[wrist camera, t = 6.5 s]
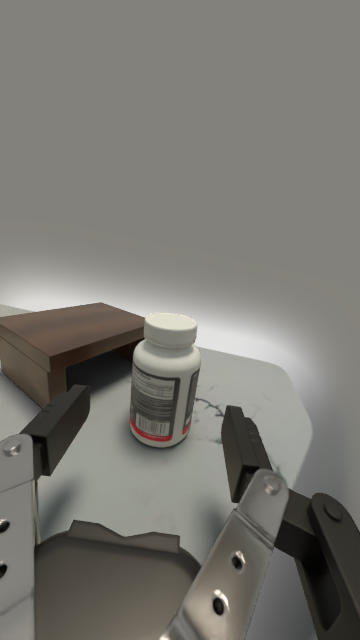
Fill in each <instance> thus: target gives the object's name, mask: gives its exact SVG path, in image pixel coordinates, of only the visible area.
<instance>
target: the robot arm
mask: <svg viewBox="0 0 360 640" xmlns="http://www.w3.org/2000/svg"><path fill="white" fill-rule="evenodd" d="M89 410H90V388H89V386H84V385H77V384H75V385H73V387H72V388H71V389H70V390H69V391H68V392H67V393H66V392H62V393H61V394H59V395H57V396H56V397H54V398H53V399H52V400H51V401H50V402H49V403H48V404H47V406H45V407H44V408H43V409H42V411H41V412H39V414H38V415H37V416H36V417H35V418H34V419H33V420H32V421H31V422H30V423H29V424H28V425H27V426H26V427H25V428H24V429H23V430H22V431H21V432H20V433H19V434H16V435H13V436H10V437H8V438H6V439H4V440H2V441H1V442H0V640H245V637H246V634H247V631H248V628H249V625H250V622H251V619H252V615H253V612H254V609H255V606H256V603H257V600H258V597H259V593H260V590H261V587H262V584H263V581H264V578H265V575H266V571H267V568H268V565H269V562H270V559H271V556H272V553H273V549H274V547H276V548H278V549H279V550H281V551H283V552H285V553H287V554H288V555H290V556H292V557H294V559H295V563H296V566H297V569H298V573H299V576H300V580H301V583H302V586H303V590H304V593H305V597H306V600H307V604H308V607H309V610H310V614H311V617H312V621H313V624H314V628H315V631H316V634H317V638H318V640H360V532H359V530H358V528H357V526H356V525H355V523H354V521H353V519H352V517H351V516H350V514H349V513H348V511H347V510H346V509H345V508H344V506H343V505H342V504H340V503H339V502H338V501H337V500H335V499H334V498H332V497H331V496H329V495H327V494H324V493H316V494H314V495H313V497H312V499H309V498H307V497H305V496H303V495H301V494H298V493H296V492H294V491H292V490H290V489H289V488H288V487H287V485H286V483H285V482H284V480H283V479H282V478H281V477H280V476H279V475H278V474H276V473H275V472H273V469H272V467H271V464H270V461H269V459H268V456H267V453H266V451H265V448H264V445H263V443H262V440H261V437H260V436H259V432H258V429H257V426H256V425H255V424H254V422H253V421H252V420H251V419H250V418H247V417H244V415H243V412H242V409H241V407H237V406H230V405H227V407H226V411H225V415H224V419H223V424H222V430H221V437H222V444H223V450H224V457H225V463H226V469H227V476H228V482H229V488H230V494H231V501H232V502H233V503H239V504H238V506H237V507H236V509H235V508H234V509H233V511H232V512H231V514H230V516H229V517H228V519H227V521H226V523H225V525H224V527H223V528H222V530H221V532H220V534H219V536H218V538H217V539H216V541H215V543H214V545H213V547H212V549H211V550H210V552H209V554H208V556H207V558H206V560H205V561H204V563H203V565H202V566H201V565H200V563H199V562H198V561H197V560H196V559H195V558H194V557H193V556H192V555H191V554H190V553H189V552H188V551H186V550H185V549H183V548H181V547H180V546H179V543H180V536H178V535H171V534H164V533H158V532H150V533H145V534H139V535H134V536H128V537H123V536H121V535H119V534H117V533H116V532H114V531H112V530H110V529H108V528H106V527H105V526H103V525H101V524H98V523H91V522H85V521H78V520H73V522H72V524H71V527H70V529H69V530H68V531H64V532H61V533H58V534H55V535H53V536H51V537H49V538H47V539H46V540H44V541H42V542H41V539H40V525H39V501H38V482H37V480H38V479H39V477H40V476H41V475H44V476H51V474H52V473H53V471H54V469H55V468H56V466H57V465H58V463H59V462H60V460H61V458H62V457H63V455H64V454H65V452H66V451H67V449H68V447H69V446H70V444H71V443H72V441H73V440H74V438H75V436H76V435H77V433H78V432H79V430H80V429H81V427H82V425H83V424H84V422H85V421H86V419H87V417H88V414H89Z"/></svg>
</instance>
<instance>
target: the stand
mask: <svg viewBox="0 0 360 640" xmlns="http://www.w3.org/2000/svg"><path fill="white" fill-rule="evenodd" d="M144 323H145V318H144V317H141V316H138V315H136V314H133V313H130V312H127V311H124V310H121V309H118V308H115V307H113V306H109V305H107V304H104V303H95V304H87V305H80V306H74V307H67V308H60V309H54V310H46V311H40V312H33V313H26V314H19V315H12V316H5V317H0V360H1V367H2V372H3V373H4V374H6V375H7V376H8V377H9V378H10V379H11V380H12V381H13V382H14V383H15V384H16V385H17V386H19V387H20V388H21V389H22V390H23V391H24V392H25V393H26V394H27V395H28V396H29V397H30V398H31V399H33V400H34V401H35V402H36V403H37V404H38V405H39V406H40V407H41V408H42V409H43V408H44V407H45V406H47V404H48V403H49V402H50V401H51V400H52V399H53V398H54V397H56V396H57V395H59V394H61V393H62V392H66V393H67V388H66V367H68V366H71V365H74V364H76V363H79V362H81V361H84V360H87V359H89V358H92V357H95V356H97V355H100V354H102V353H105V352H108V351H110V350H112V351H113V352H115V353H117V354H119V355H121V356H123V357H125V358H127V359H129V360H131V361H133V354H134V350H135V348H136V346H137V345H138V344H139V343H140V342H141V341H143V340H145V338H144Z"/></svg>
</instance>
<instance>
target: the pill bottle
mask: <svg viewBox="0 0 360 640" xmlns="http://www.w3.org/2000/svg"><path fill="white" fill-rule="evenodd" d="M196 332H197V322H196V321H195V320H194V319H192V318H190V317H187V316H185V315H181V314H176V313H163V312H161V313H153V314H150V315H148V316H147V317H146V318H145V323H144V338H145V340H143V341H141V342H140V343H139V344H138V345H137V346H136V348H135V350H134V354H133V368H132V386H131V405H130V428H131V431H132V433H133V434H134V435H135V437H136V438H137V439H138V440H139V441H141V442H143V443H144V444H147V445H149V446H154V447H169V446H172V445H174V444H177V443H178V442H180V441H181V440H182V439H183V438H184V437H185V436H186V435H187V433H188V431H189V428H190V423H191V418H192V412H193V405H194V399H195V393H196V387H197V382H198V376H199V370H200V365H201V355H200V352H199V350H198V349H197V347H196V346H195V345H194V342H195V339H196Z"/></svg>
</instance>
